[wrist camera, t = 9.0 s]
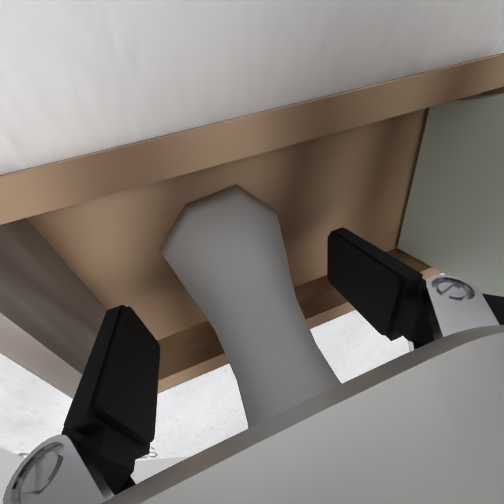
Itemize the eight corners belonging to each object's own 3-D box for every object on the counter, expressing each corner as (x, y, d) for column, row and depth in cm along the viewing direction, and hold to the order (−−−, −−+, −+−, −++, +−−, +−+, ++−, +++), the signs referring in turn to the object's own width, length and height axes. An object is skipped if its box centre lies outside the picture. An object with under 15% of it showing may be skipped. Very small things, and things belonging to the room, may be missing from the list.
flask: (220, 309, 15) (272, 521, 7) (133, 247, 11) (17, 582, 3) (299, 247, 15) (458, 400, 6) (238, 157, 11) (463, 263, 2)
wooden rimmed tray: (488, 56, 13) (633, 23, 9) (430, 235, 20) (495, 263, 16) (-24, 181, 9) (-198, 227, 5) (133, 350, 16) (119, 427, 12)
